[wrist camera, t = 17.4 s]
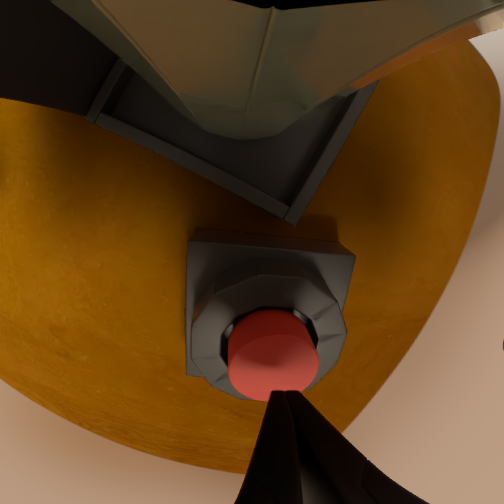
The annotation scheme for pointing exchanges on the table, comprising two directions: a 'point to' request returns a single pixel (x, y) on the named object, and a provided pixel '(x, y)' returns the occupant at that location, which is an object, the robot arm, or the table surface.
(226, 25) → the cup
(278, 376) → the button
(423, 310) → the table surface
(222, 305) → the button block
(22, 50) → the coffee maker
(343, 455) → the robot arm
